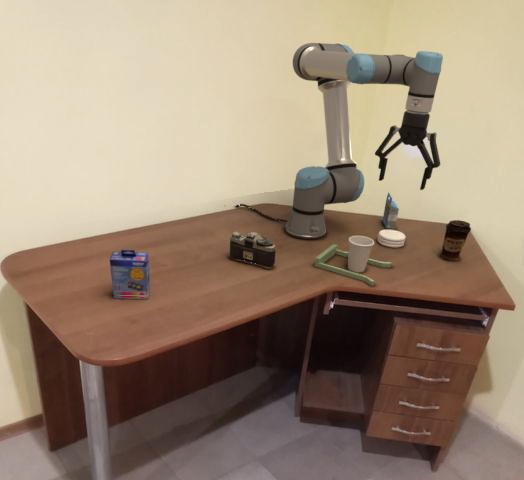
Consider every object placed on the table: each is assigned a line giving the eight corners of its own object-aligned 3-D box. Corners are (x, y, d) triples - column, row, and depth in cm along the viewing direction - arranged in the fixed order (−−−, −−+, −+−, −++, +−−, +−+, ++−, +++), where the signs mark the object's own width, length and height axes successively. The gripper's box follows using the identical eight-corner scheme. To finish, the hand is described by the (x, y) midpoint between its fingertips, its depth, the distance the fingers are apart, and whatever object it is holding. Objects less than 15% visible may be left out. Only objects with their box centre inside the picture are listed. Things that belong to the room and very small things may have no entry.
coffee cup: (462, 264, 183) (473, 229, 176) (438, 260, 184) (448, 225, 177) (460, 254, 190) (470, 220, 183) (437, 251, 191) (446, 217, 184)
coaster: (374, 244, 192) (376, 235, 190) (380, 235, 200) (381, 227, 198) (401, 250, 190) (403, 241, 188) (405, 241, 197) (408, 232, 195)
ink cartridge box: (112, 299, 144) (107, 250, 136) (115, 290, 149) (111, 242, 141) (148, 300, 145) (146, 252, 137) (150, 291, 150) (148, 244, 142)
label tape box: (395, 229, 207) (402, 199, 200) (385, 228, 207) (391, 198, 200) (391, 221, 214) (397, 192, 208) (381, 220, 214) (387, 191, 208)
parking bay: (312, 267, 171) (313, 259, 170) (334, 250, 185) (335, 242, 183) (372, 286, 163) (374, 277, 162) (391, 266, 177) (393, 258, 175)
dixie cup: (338, 266, 174) (343, 238, 168) (356, 261, 178) (361, 233, 173) (356, 276, 169) (361, 247, 163) (373, 270, 173) (379, 242, 167)
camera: (282, 260, 175) (285, 231, 169) (269, 271, 167) (272, 242, 161) (240, 249, 180) (242, 221, 174) (226, 259, 172) (227, 230, 166)
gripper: (373, 106, 155) (360, 178, 167) (456, 120, 145) (436, 195, 157) (381, 104, 161) (368, 173, 172) (462, 117, 151) (443, 190, 163)
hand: (401, 184), depth 165 cm, fingers open, 13 cm apart
